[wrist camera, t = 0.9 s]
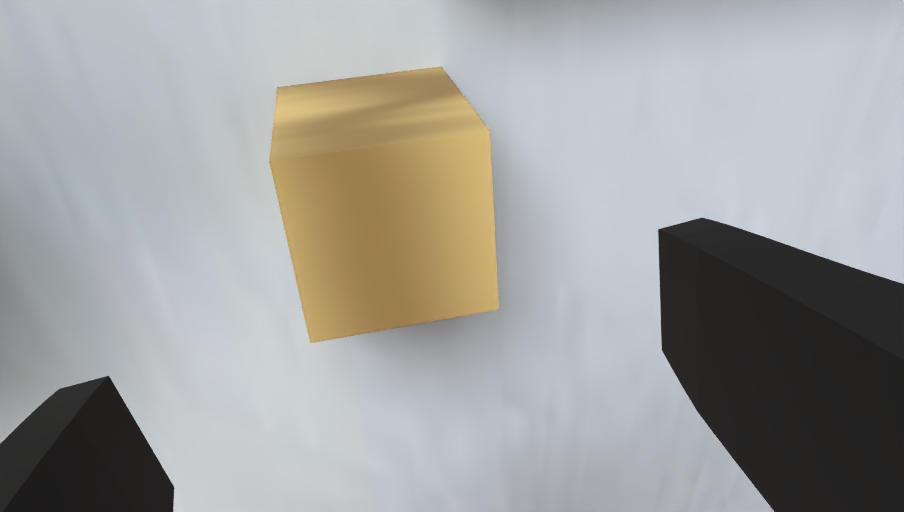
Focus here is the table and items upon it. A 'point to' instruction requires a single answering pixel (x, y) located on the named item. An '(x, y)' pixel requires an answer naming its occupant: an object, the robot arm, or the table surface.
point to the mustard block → (385, 201)
